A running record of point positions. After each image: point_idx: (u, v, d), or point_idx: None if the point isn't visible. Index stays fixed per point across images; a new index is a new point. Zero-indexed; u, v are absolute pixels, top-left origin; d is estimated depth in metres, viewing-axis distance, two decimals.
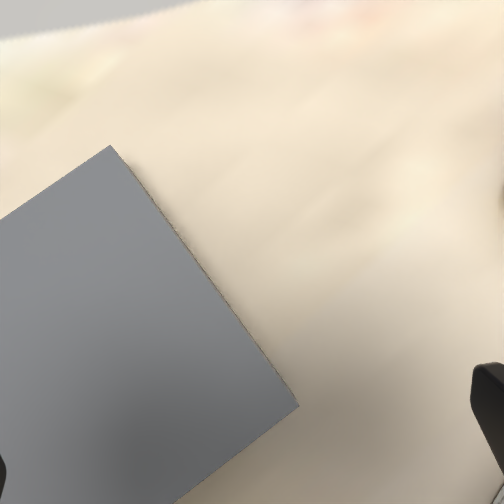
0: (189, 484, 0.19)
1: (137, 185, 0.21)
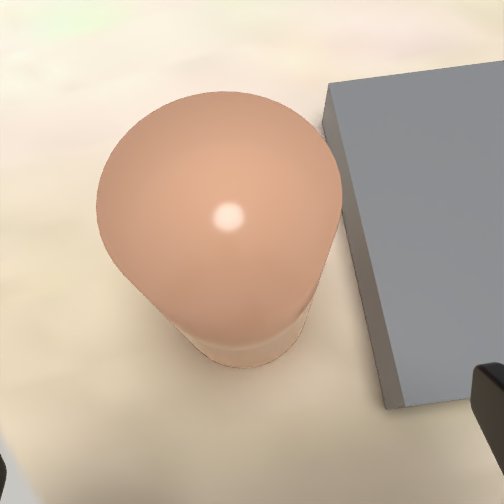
0: None
1: None
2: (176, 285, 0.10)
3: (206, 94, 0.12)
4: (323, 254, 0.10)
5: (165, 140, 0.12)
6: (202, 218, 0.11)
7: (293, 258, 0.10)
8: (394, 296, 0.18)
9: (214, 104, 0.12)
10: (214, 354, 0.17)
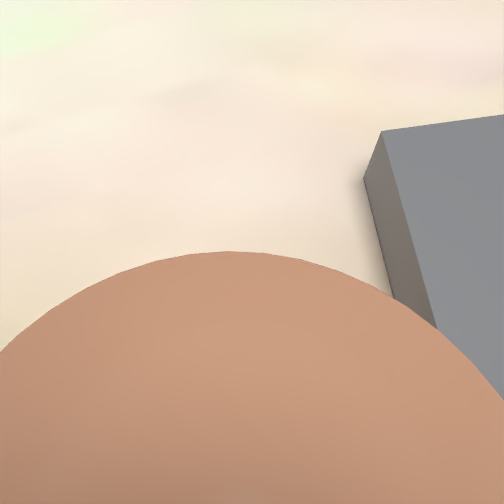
0: None
1: None
2: None
3: (189, 260, 0.05)
4: None
5: (78, 401, 0.04)
6: None
7: None
8: None
9: (209, 289, 0.05)
10: None
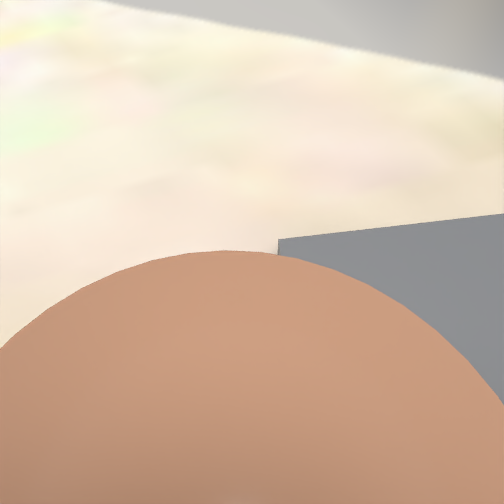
0: None
1: None
2: None
3: (186, 259, 0.05)
4: None
5: (75, 399, 0.04)
6: None
7: None
8: None
9: (206, 288, 0.05)
10: None
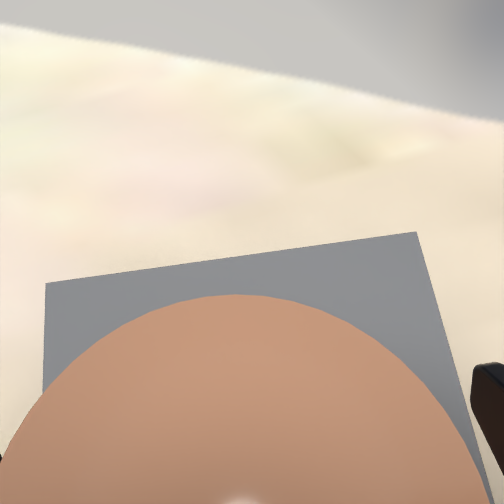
0: None
1: (431, 290, 0.17)
2: None
3: (205, 301, 0.06)
4: None
5: (121, 412, 0.06)
6: None
7: None
8: None
9: (221, 325, 0.06)
10: None
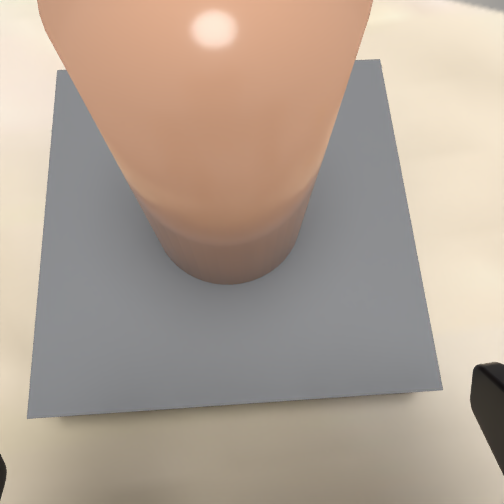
0: (286, 395, 0.16)
1: (386, 102, 0.20)
2: (140, 81, 0.07)
3: None
4: (344, 58, 0.08)
5: None
6: (182, 3, 0.08)
7: (302, 59, 0.07)
8: (52, 302, 0.17)
9: None
10: (190, 253, 0.14)
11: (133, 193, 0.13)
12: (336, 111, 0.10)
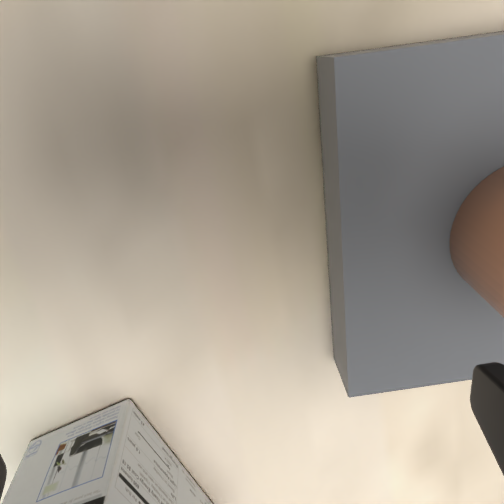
0: (348, 291, 0.19)
1: None
2: None
3: None
4: None
5: None
6: None
7: None
8: (452, 59, 0.16)
9: None
10: None
11: None
12: None
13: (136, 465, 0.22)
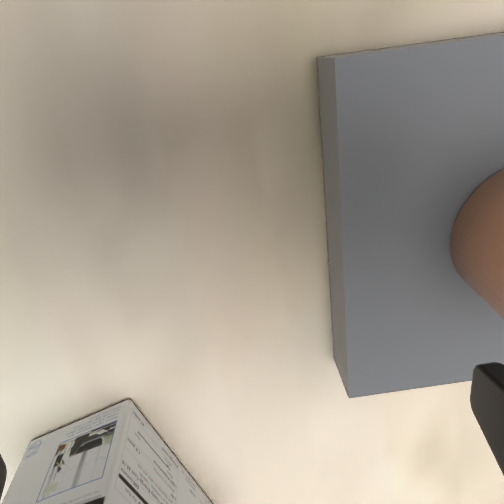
0: (348, 292, 0.19)
1: None
2: None
3: None
4: None
5: None
6: None
7: None
8: (453, 60, 0.16)
9: None
10: None
11: None
12: None
13: (135, 465, 0.22)
